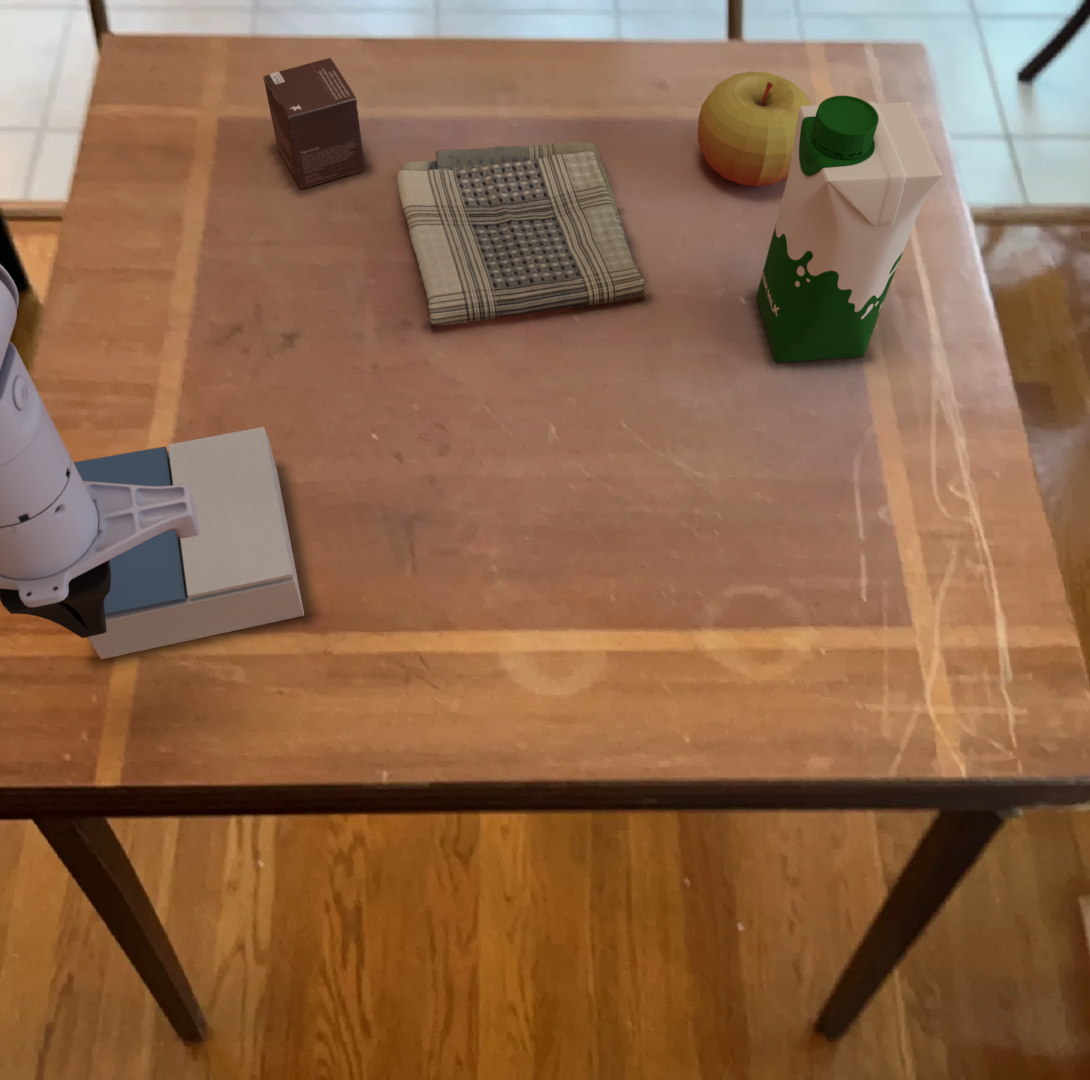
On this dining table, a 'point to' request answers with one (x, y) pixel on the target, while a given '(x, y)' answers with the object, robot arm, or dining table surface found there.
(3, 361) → the robot arm
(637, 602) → the dining table surface
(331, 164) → the box
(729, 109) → the apple
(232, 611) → the carton
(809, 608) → the dining table surface
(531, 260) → the dish towel
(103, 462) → the flap
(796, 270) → the milk carton
